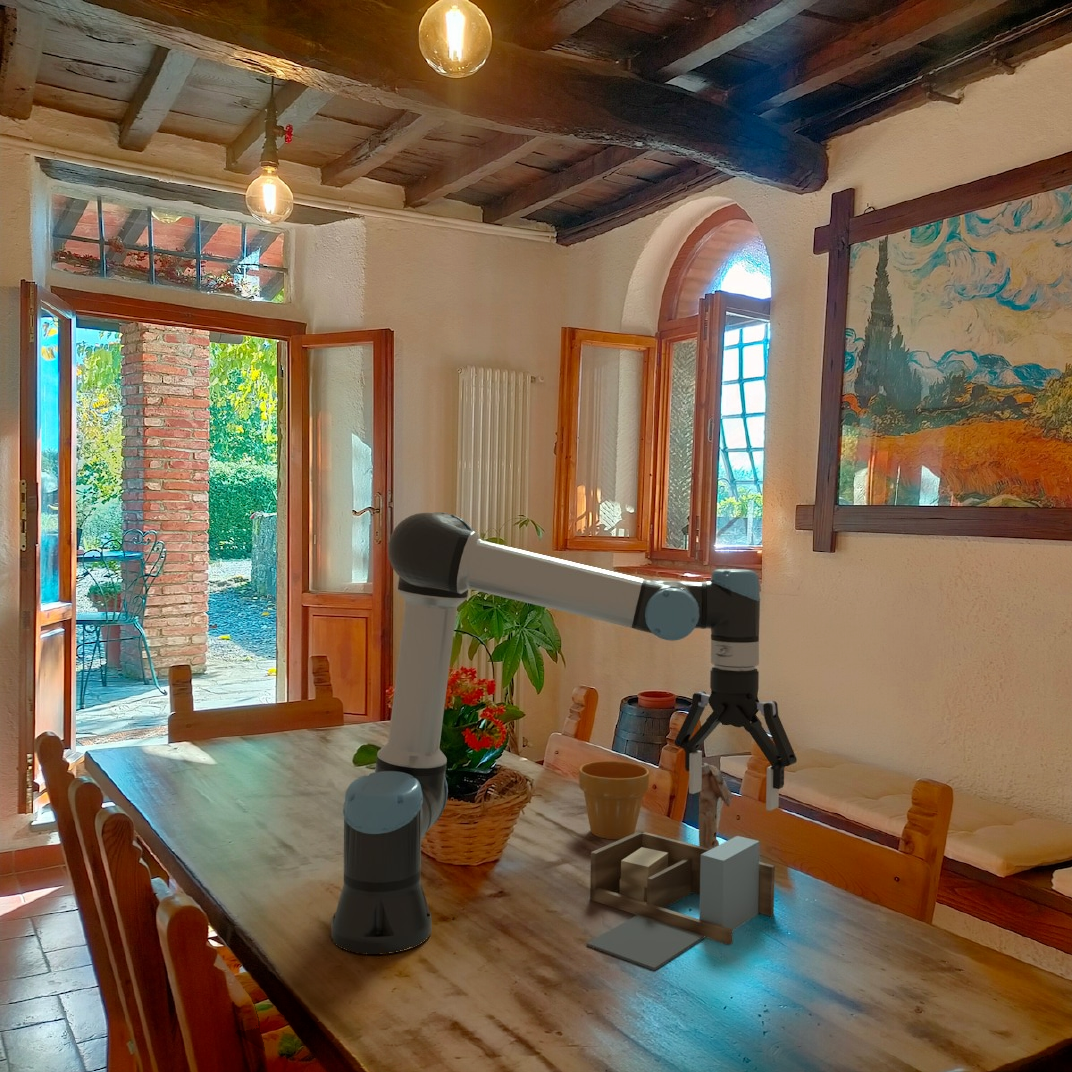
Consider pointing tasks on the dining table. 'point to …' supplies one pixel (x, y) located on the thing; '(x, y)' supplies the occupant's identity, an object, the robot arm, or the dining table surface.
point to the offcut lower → (633, 891)
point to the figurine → (711, 804)
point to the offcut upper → (643, 866)
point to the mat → (645, 941)
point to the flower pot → (613, 796)
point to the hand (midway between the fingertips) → (732, 800)
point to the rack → (666, 883)
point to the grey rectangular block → (730, 883)
